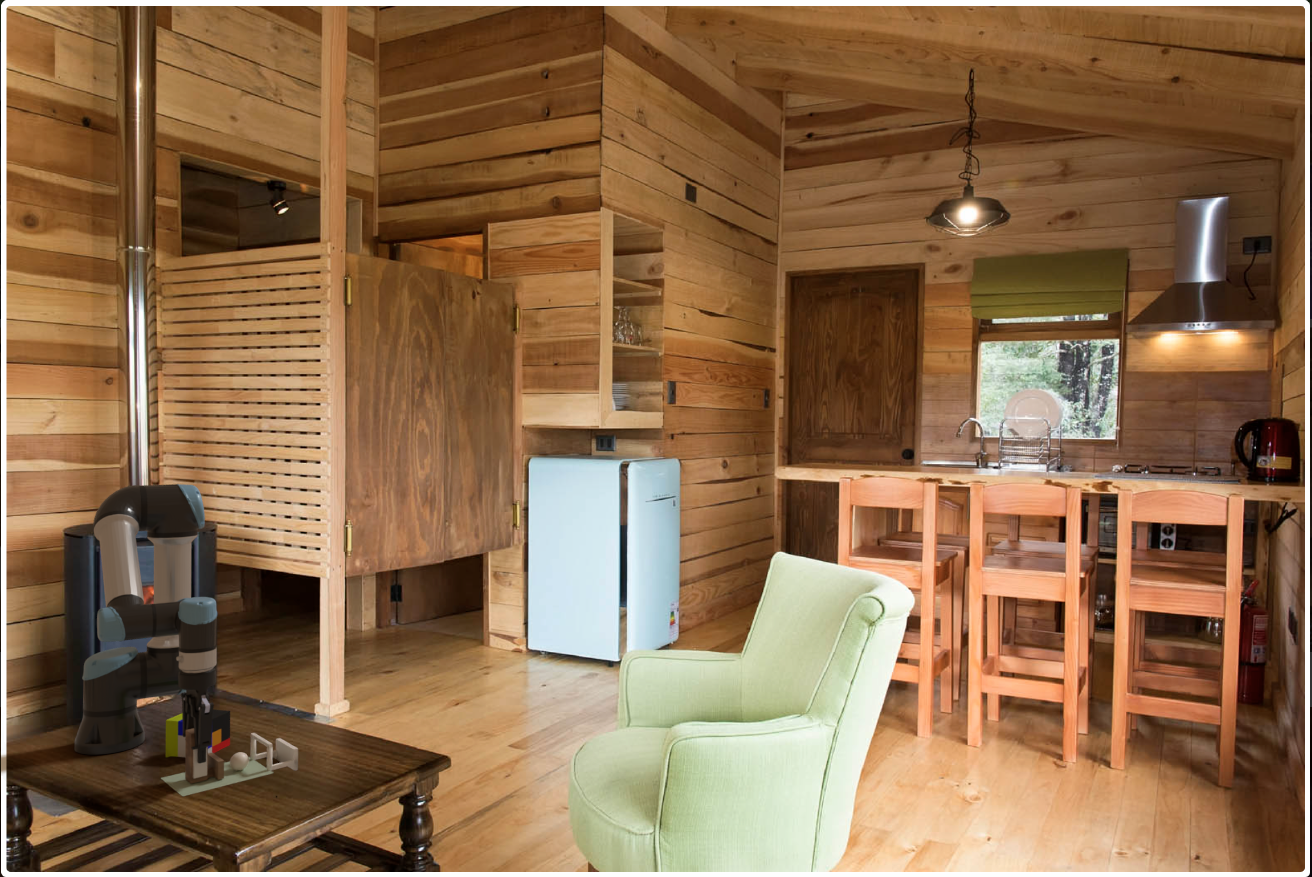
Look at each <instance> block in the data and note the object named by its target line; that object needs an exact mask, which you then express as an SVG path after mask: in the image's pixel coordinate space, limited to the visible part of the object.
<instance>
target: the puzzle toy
mask: <svg viewBox="0 0 1312 877" xmlns="http://www.w3.org/2000/svg"><path fill="white" fill-rule="evenodd" d="M182 734H183V721H182V713H180V714H177V715H175V716H172V717H170V718H168V719H166V720H165V758H169V757H176V758H177V757H178V758H185V747H186V740H185V737H183V735H182ZM230 745H231V710H226V709H225V710H224V709H214V708H213V713H212V744H211V746H208V753H214V754H215V753H217V752H219V751H220V750H222V749H224V748H227V747H229V746H230Z"/></svg>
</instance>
